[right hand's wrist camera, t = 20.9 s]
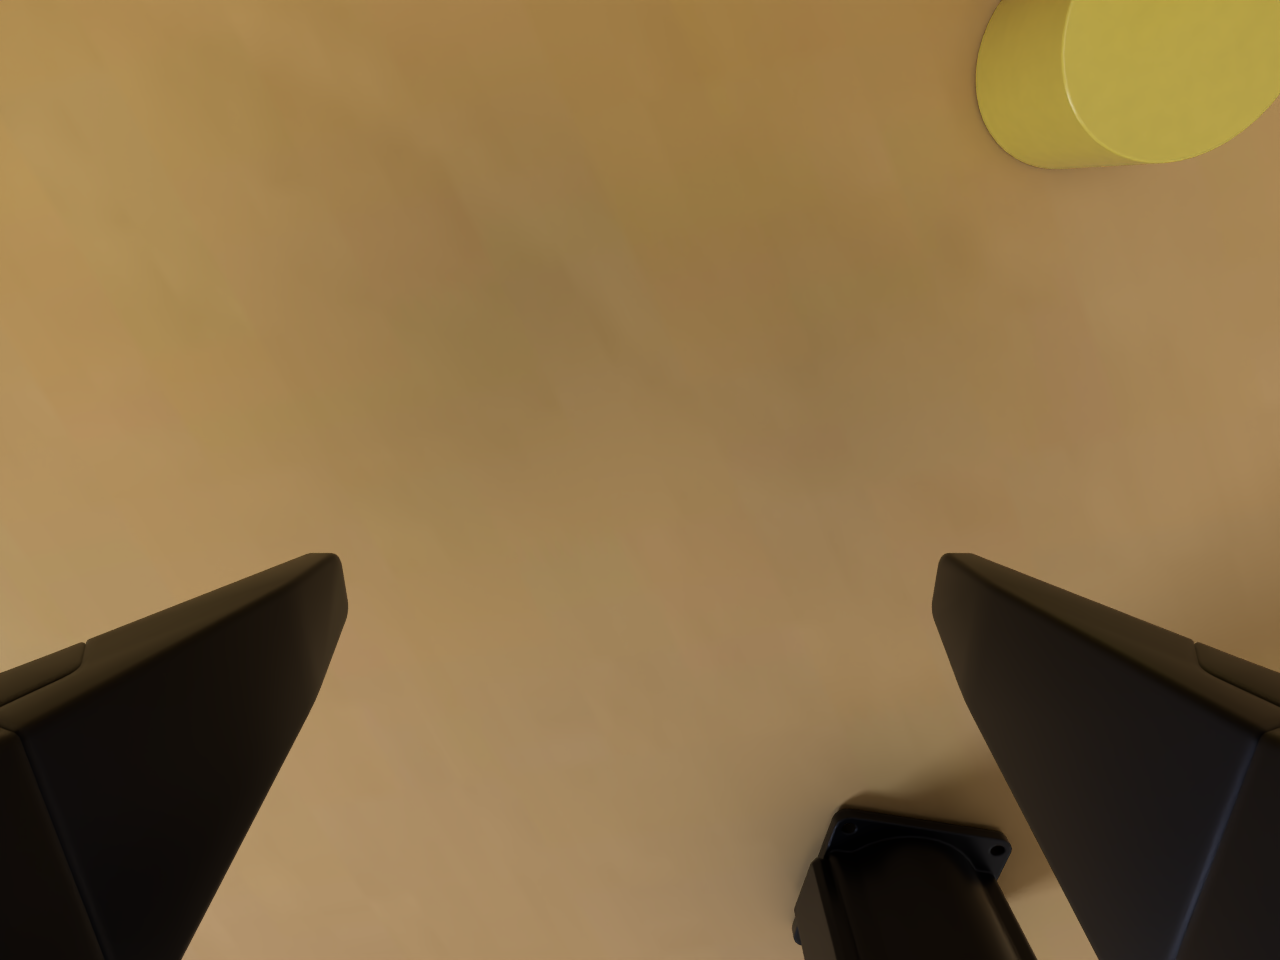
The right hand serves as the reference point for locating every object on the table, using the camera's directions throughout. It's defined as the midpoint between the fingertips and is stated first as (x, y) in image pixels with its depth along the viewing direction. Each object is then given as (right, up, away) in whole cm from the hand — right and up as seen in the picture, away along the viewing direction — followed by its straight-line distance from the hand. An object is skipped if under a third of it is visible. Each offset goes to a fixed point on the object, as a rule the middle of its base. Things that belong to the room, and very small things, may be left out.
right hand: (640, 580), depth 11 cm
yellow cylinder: (+10, +12, +7) cm, 17 cm away
